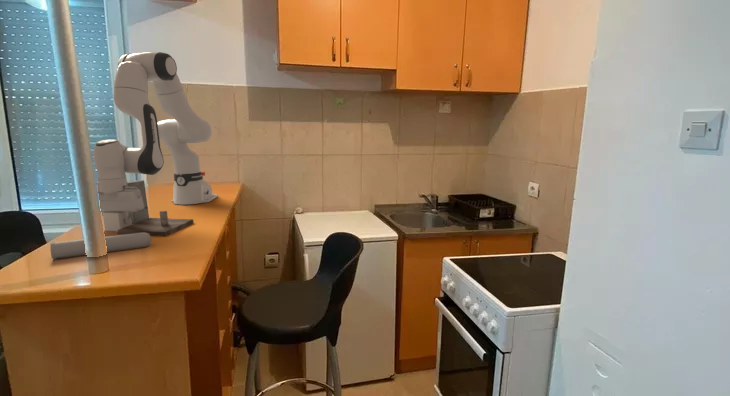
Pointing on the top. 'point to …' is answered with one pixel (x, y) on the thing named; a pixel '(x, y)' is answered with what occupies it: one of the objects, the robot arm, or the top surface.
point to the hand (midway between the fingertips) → (118, 223)
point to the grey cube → (114, 220)
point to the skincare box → (144, 213)
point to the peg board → (157, 226)
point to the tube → (112, 243)
